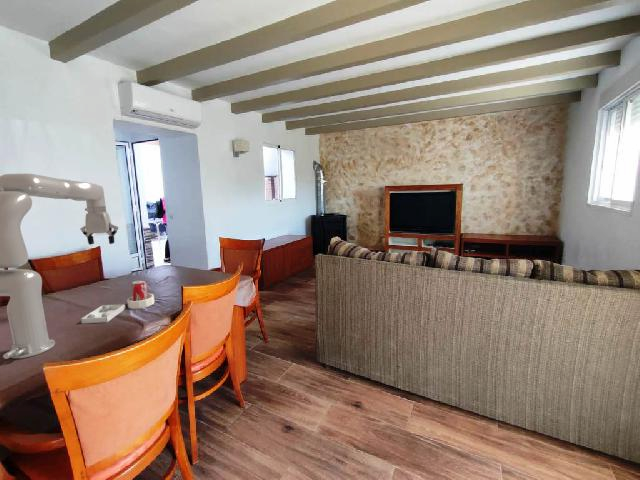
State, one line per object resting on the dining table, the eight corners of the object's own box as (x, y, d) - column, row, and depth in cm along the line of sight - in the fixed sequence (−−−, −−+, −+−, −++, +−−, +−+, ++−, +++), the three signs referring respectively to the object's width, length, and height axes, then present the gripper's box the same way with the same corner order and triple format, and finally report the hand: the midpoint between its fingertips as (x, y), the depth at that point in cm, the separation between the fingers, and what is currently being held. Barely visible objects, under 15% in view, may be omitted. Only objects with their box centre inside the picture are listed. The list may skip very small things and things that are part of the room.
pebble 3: (107, 320, 139) (106, 313, 138) (100, 320, 138) (99, 314, 138) (111, 317, 142) (110, 311, 141) (104, 317, 141) (103, 311, 141)
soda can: (141, 306, 154) (139, 284, 152) (130, 305, 155) (127, 283, 153) (151, 301, 161) (149, 280, 159) (140, 300, 162) (138, 279, 160)
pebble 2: (108, 312, 148) (107, 306, 148) (101, 312, 148) (100, 306, 148) (111, 309, 151) (110, 304, 151) (105, 310, 151) (104, 304, 151)
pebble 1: (93, 321, 138) (92, 315, 137) (86, 322, 137) (85, 315, 137) (97, 318, 141) (96, 312, 140) (90, 319, 140) (89, 313, 140)
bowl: (148, 308, 153) (147, 300, 152) (123, 309, 152) (122, 302, 151) (157, 299, 165) (157, 292, 164) (135, 301, 163) (134, 294, 163)
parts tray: (107, 322, 137) (106, 317, 137) (81, 324, 136) (80, 318, 135) (125, 308, 153) (125, 304, 152) (102, 310, 151) (101, 305, 151)
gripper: (73, 211, 144) (78, 245, 147) (111, 210, 146) (115, 244, 149) (83, 210, 152) (88, 243, 154) (119, 209, 154) (123, 242, 156)
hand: (101, 243), depth 152 cm, fingers open, 9 cm apart
